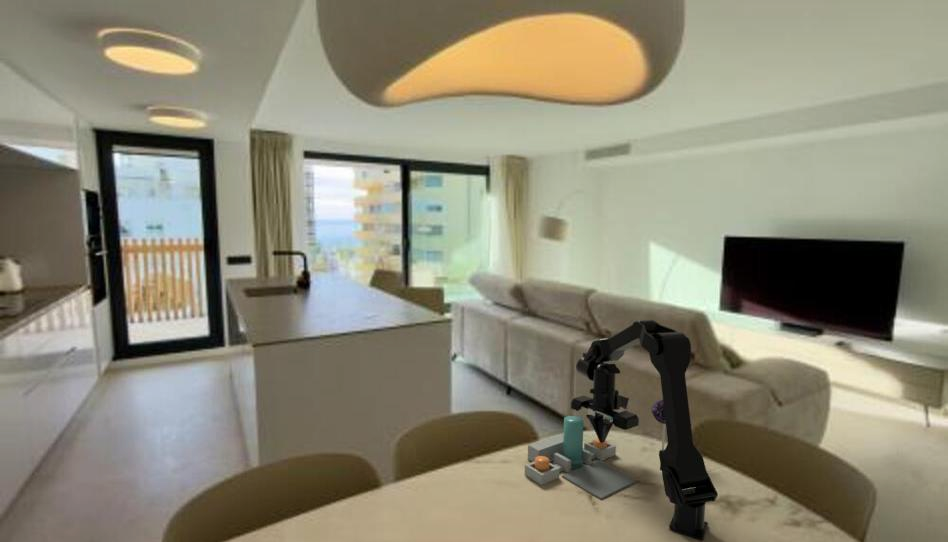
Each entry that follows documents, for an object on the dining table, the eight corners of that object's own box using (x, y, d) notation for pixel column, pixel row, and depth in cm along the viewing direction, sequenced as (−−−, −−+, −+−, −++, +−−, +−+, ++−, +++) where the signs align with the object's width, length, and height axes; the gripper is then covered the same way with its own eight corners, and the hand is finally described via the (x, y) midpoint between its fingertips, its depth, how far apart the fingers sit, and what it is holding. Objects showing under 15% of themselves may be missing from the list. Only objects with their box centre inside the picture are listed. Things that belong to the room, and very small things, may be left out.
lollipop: (645, 452, 130) (647, 399, 129) (656, 445, 134) (659, 394, 133) (669, 461, 125) (672, 406, 124) (680, 453, 129) (683, 400, 128)
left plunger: (545, 476, 113) (545, 464, 113) (532, 471, 115) (532, 460, 115) (551, 470, 116) (552, 458, 116) (538, 466, 118) (538, 454, 118)
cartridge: (577, 471, 119) (579, 425, 118) (558, 465, 122) (560, 420, 121) (585, 463, 123) (587, 418, 122) (566, 457, 126) (568, 414, 125)
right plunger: (604, 456, 126) (604, 445, 126) (591, 452, 128) (591, 442, 128) (608, 451, 129) (608, 440, 129) (595, 447, 131) (596, 437, 131)
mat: (638, 481, 114) (638, 479, 114) (600, 499, 106) (601, 497, 106) (599, 461, 124) (599, 460, 124) (562, 476, 116) (562, 475, 116)
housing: (615, 454, 128) (616, 440, 128) (541, 485, 112) (541, 469, 111) (583, 439, 137) (583, 426, 137) (510, 465, 121) (510, 450, 121)
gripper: (652, 390, 123) (650, 447, 124) (596, 373, 138) (594, 424, 139) (626, 398, 117) (624, 458, 118) (570, 379, 132) (568, 432, 133)
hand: (602, 442), depth 127 cm, fingers closed
